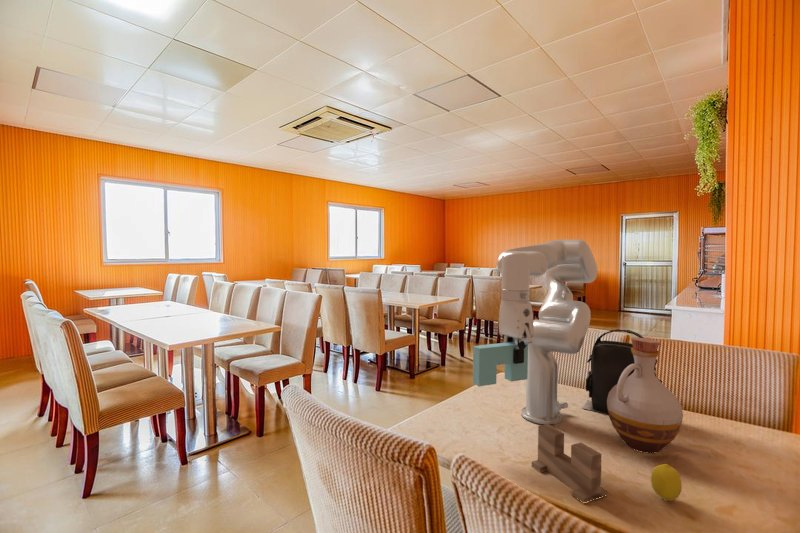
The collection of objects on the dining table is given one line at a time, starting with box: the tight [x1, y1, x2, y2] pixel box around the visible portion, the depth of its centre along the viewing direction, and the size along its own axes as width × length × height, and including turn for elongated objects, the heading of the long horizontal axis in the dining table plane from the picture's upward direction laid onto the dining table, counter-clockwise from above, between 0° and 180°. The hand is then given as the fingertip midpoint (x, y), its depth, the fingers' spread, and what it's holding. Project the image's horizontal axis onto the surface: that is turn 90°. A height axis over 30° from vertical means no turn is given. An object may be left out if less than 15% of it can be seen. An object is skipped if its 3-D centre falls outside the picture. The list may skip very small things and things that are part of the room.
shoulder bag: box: [582, 328, 663, 415], centre depth 131 cm, size 23×9×28 cm, turn 54°
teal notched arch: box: [472, 340, 528, 387], centre depth 109 cm, size 16×3×10 cm, turn 112°
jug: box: [607, 336, 684, 454], centre depth 108 cm, size 20×18×30 cm
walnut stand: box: [531, 424, 608, 502], centre depth 93 cm, size 7×16×10 cm, turn 23°
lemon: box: [650, 463, 683, 501], centre depth 86 cm, size 6×6×8 cm
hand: (514, 360), depth 111 cm, fingers closed on teal notched arch, 3 cm apart
